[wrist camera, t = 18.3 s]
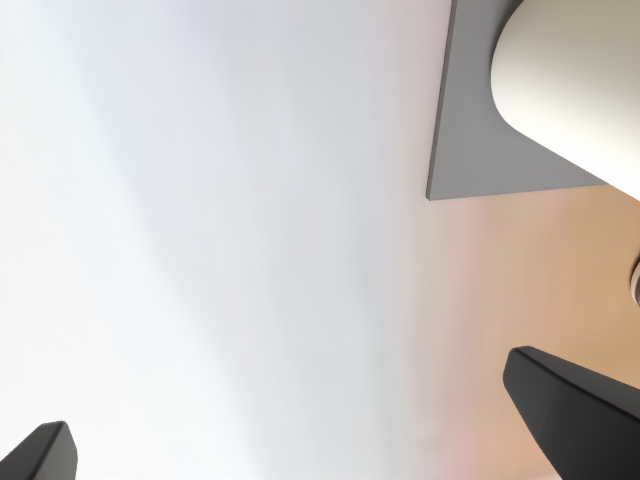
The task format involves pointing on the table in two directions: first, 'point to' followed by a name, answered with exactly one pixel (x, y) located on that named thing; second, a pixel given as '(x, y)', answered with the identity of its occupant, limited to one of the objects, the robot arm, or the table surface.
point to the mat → (486, 119)
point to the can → (575, 83)
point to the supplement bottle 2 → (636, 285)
